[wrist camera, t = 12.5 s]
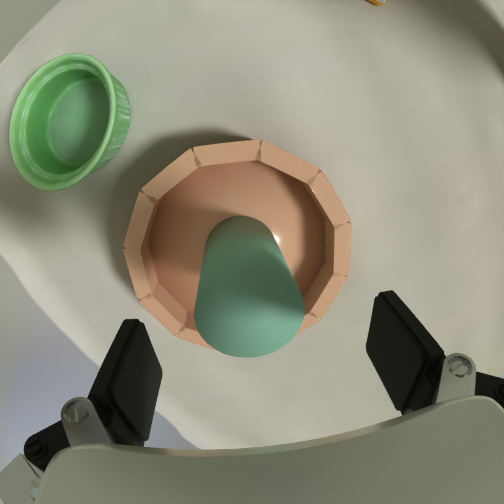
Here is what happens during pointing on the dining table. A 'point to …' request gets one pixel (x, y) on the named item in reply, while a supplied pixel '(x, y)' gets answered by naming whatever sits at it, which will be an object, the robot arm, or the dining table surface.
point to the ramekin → (67, 122)
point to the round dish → (229, 205)
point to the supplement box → (377, 2)
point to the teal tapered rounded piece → (246, 291)
